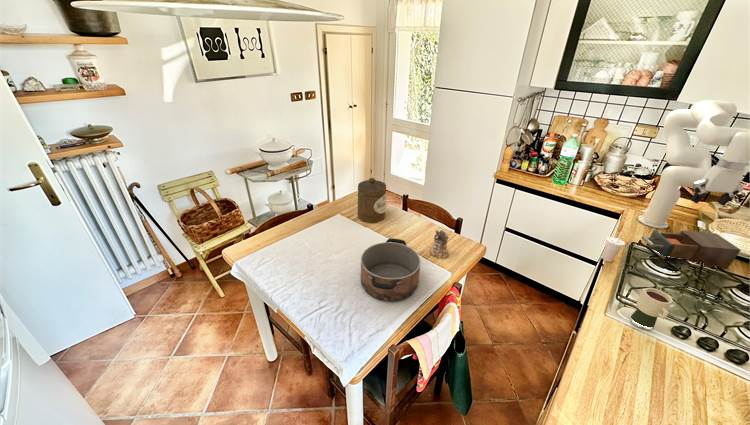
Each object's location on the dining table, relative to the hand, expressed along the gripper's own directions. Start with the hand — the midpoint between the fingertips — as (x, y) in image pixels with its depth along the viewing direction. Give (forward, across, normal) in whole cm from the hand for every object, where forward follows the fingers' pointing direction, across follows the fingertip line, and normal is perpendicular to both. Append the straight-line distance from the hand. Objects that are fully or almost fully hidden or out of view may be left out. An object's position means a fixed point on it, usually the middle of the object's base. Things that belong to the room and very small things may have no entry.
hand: (707, 203), depth 128 cm
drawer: (+24, +9, +5) cm, 26 cm away
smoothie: (+24, +36, +14) cm, 46 cm away
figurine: (+24, +109, +26) cm, 114 cm away
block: (+22, +8, +5) cm, 24 cm away
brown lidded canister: (+24, +144, -1) cm, 147 cm away
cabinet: (+25, -5, +5) cm, 26 cm away
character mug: (+24, +42, +52) cm, 71 cm away
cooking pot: (+23, +128, +48) cm, 138 cm away
